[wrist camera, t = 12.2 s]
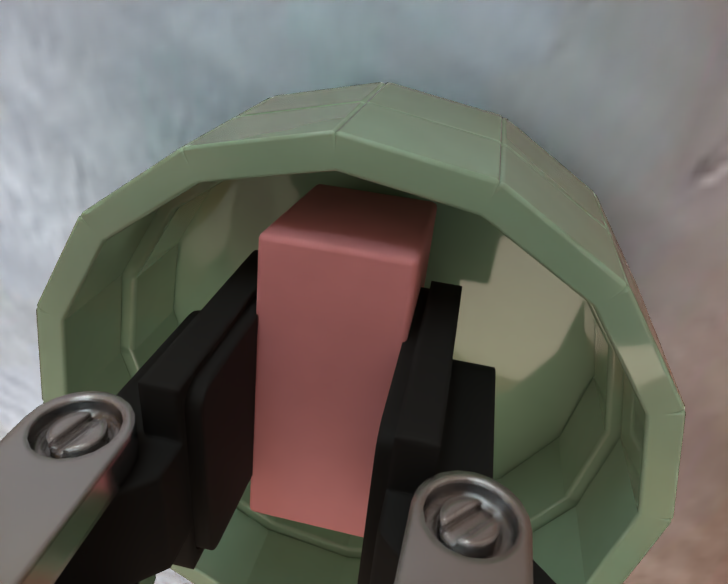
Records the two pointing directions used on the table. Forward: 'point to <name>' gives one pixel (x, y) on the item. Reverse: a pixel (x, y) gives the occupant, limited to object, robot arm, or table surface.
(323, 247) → the eraser
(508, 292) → the sage bowl
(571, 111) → the table surface
